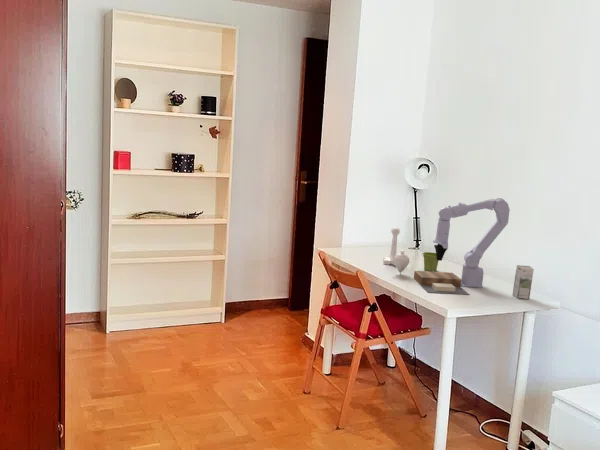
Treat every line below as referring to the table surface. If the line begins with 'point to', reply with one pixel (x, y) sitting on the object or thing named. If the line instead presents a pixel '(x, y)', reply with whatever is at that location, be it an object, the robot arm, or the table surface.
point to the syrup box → (523, 282)
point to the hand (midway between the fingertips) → (439, 260)
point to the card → (443, 287)
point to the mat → (457, 291)
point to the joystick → (392, 247)
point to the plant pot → (430, 261)
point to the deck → (436, 278)
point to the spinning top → (401, 261)
